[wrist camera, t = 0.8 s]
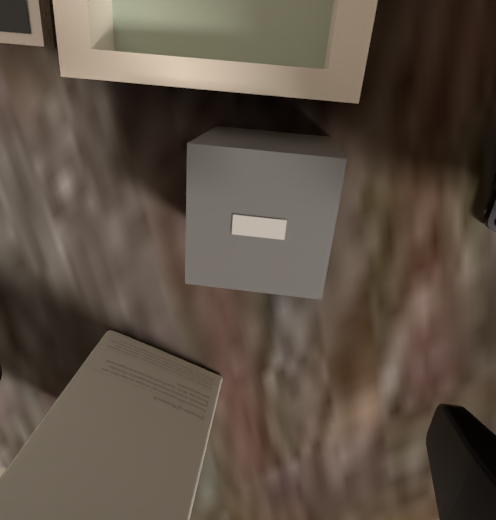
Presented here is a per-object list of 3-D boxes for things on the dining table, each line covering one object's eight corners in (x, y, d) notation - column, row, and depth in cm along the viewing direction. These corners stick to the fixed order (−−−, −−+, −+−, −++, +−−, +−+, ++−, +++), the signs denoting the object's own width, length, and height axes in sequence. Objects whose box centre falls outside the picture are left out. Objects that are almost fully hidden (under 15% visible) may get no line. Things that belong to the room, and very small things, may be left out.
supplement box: (107, 324, 22) (-85, 580, 11) (226, 375, 23) (164, 667, 12) (76, 409, 25) (-99, 680, 14) (182, 452, 26) (98, 744, 15)
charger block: (330, 136, 17) (347, 159, 12) (313, 243, 19) (321, 300, 14) (216, 125, 17) (186, 143, 12) (212, 231, 19) (184, 284, 14)
